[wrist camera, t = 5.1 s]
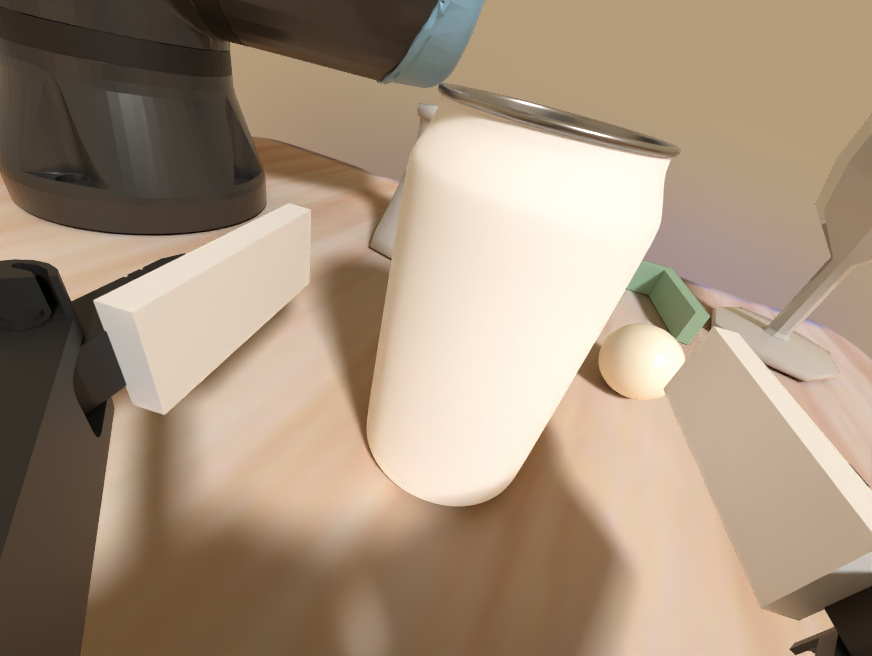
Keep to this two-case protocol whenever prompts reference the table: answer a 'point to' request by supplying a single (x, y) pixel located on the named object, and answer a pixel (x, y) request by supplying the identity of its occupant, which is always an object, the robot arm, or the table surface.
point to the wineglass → (849, 246)
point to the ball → (640, 360)
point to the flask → (397, 198)
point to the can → (501, 283)
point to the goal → (670, 300)
